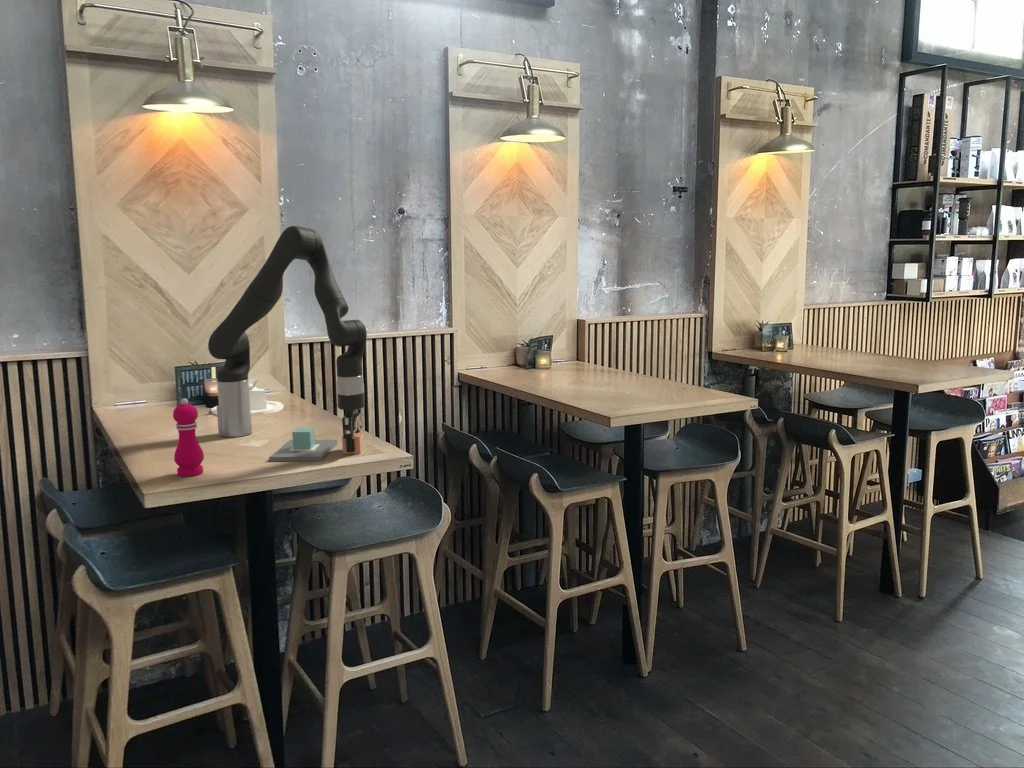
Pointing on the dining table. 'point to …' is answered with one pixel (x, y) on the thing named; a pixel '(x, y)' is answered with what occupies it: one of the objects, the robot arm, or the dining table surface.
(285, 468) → the dining table surface
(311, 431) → the teal cube
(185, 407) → the pepper mill
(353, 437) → the robot arm
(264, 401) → the dish
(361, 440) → the orange cube
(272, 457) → the plate
